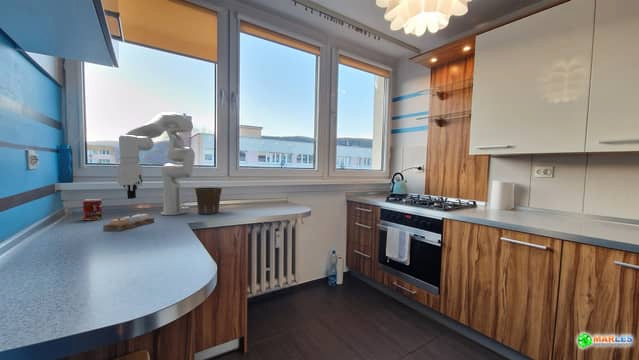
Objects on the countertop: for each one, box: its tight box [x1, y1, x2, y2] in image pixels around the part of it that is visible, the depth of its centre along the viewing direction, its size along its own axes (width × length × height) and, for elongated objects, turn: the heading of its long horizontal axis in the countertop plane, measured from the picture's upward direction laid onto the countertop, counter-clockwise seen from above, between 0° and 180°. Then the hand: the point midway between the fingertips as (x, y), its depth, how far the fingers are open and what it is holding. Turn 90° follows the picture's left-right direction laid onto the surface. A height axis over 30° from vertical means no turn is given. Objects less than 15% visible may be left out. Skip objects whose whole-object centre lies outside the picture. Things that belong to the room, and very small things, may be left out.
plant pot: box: [194, 187, 223, 215], centre depth 166 cm, size 16×16×16 cm
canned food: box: [82, 198, 103, 220], centre depth 141 cm, size 8×8×11 cm
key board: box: [102, 216, 155, 232], centre depth 126 cm, size 20×8×2 cm, turn 174°
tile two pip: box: [121, 215, 139, 222], centre depth 126 cm, size 5×5×4 cm
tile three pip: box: [109, 217, 128, 225], centre depth 120 cm, size 5×5×4 cm
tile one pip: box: [132, 213, 149, 220], centre depth 133 cm, size 5×5×4 cm
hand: (131, 198), depth 127 cm, fingers closed
